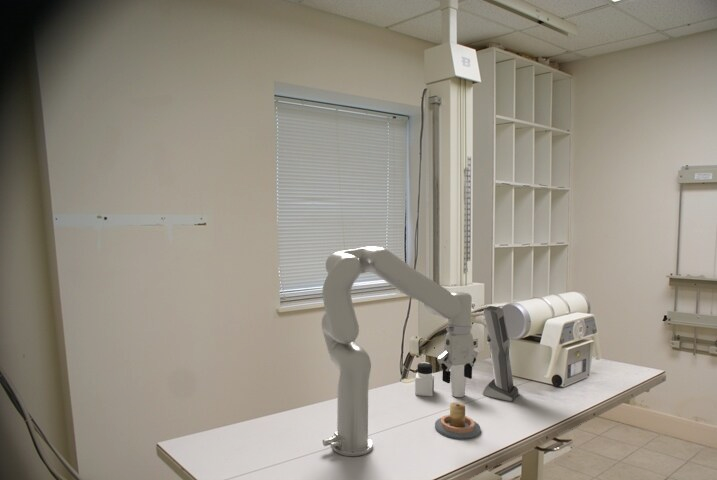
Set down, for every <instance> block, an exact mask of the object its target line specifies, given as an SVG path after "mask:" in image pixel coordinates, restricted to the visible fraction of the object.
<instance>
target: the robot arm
mask: <svg viewBox="0 0 717 480" xmlns="http://www.w3.org/2000/svg"><path fill="white" fill-rule="evenodd" d="M325 270H326V272H327V275H326V278H325V280H324V282H323V286H322V291H321V292H322V301H323V306H324V309H325V312H324V314H323V315H322V317H321V318H322V319H321V330H322V334H323V338H324V341H325V345H326V348H327V351H328V355H329V358H330V360H331V362H332V363H333V364H334V366H335V367H336V368H337V369H338V370H339V375H338V382H337V392H336V394H337V396H336V397H337V410H336V411H337V412H336V413H337V419H336V420H337V421H336V426H337V427H336V428H337V430H336V431H334V432H333V435H332V436H331V437H330V438H329V437H327V438H324V439H322V444H323V446H324V447H327V446H330V448H332V450H333V451H334V452H336V453H337V454H339V455H342V456H345V457H359V456H364V455H366V454H368V453H369V452H371V450H372V449H373V448H374V447H373V446H374V442H373V440H372V439H371V438H370V437H369V384H370V383H369V382H370V375H371V370H372V369H371V368H372V362H371V357H370V355H369V353H368V352H367V351H366V350H365V349H364V348H363V347H362V346H361V345H359V344H358V343H356V340H357V338H358V336H359V332H360V325H359V322H358V321H359V320H358V319H357V315H356V312H355V308H354V305H353V299H352V289H353V286H354V283H355V282H356V281H357V280H358V278H359V277H360V276H361V275H362V274H365V273H373V274H374V275H376V276H377V277H378V278H380V279H381V280H383V281H384V282H386V283H387V284H388V285H390V286H392V287H393V288H395V289H396V290H397V291H398V292H400V293H402V294H403V295H405V296H407V297H409V298H411V299H414V300H417V301H419V302H421V303H423V305H424V308H425V309H426V311H428V312H429V313H431V314H433V315H434V316H435V315H436V316H439V317H441V318H443V319H446V320H447V327H446V328H445V330H446V332H447V333H446V334H445V340H444V343H443V344H444V346H443V353H441V354H439V356H438V357H437V358H436V360H437V362H438V363H437V364H438V366H439V367H440V369H441V370H442V375H441V376H442V377H441V379H442V381H443V382H444V383H446V384H451V372H450V368H451V367H452V365H454V366H457V365H463V364H466V365H464V376H465V377H466V379H470V380H471V379H473V367H474V366H475V363H476V361H477V358H478V355H479V352H478V351H476V350H475V349H474V348H475V345H474V337H473V334H472V332H471V331H472V329H471V328H472V327H471V326H472V303H473V302H472V295H471V294H470V293H468V292H464V291H463V292H462V291H455V292H450V291H449V290H447V289H446V288H445V287H443V286H442V285H440V284H438V283H437V282H435V281H434V280H432V279H430V278H429V277H427V276H426V275H424V274H423V273H421V272H420V271H418V270H416V269H415V268H414V267H412V266H411V265H410V264H408V263H406V262H405V261H404V260H403V259H401V258H400V257H399V256H397V255H396V254H394V253H393V252H392V251H390V250H389V249H387V248H385V247H380V246H374V245H372V246H365V247H359V248H358V247H357V248H354V249H348V250H347V249H346V250H340V251H336V252H334V253H332V254H330V255H329V256H328V258H327V259H326V260H325Z"/></svg>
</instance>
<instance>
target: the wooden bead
mask: <svg viewBox="0 0 717 480" xmlns="http://www.w3.org/2000/svg"><path fill="white" fill-rule="evenodd" d="M449 415H450V426H453V427H465V416H466V405H465V404H464V403H462V402H451V403H450V404H449Z"/></svg>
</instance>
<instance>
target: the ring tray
mask: <svg viewBox="0 0 717 480" xmlns="http://www.w3.org/2000/svg"><path fill="white" fill-rule="evenodd" d="M434 429H435V431H436V432H437V433H439V434H440V435H442V436H444V437H447V438H450V439H454V440H456V439H457V440H470V439H474V438H476V437H478V436H479V435H480V434H481V426H480V424H479V423H478V422H476V421H475V420H473V419H472V418H471V417H469V416H466V415H465V427H453V426H450V414H447V415H444V416H442V417H440V418H437V420H436V421H435V422H434Z"/></svg>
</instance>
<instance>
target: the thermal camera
mask: <svg viewBox="0 0 717 480" xmlns="http://www.w3.org/2000/svg"><path fill="white" fill-rule="evenodd" d="M483 316H484V321H485V323H484V324H485V326H486V332H487V336H486V344H488V345H489V346H490V355H491V363H492V370H493V376H494V378H493V379H492V380H491V381H490V382H489V383H488V384H487V385H486V386H485V387H484V389H483V391H482V395H483V396H485V397H488V398H491V399H497V400H502V401H506V402H512V403H513V402H514V400H515V399H516V398H517V396H518V395H519V389H518V387H517V386H515V385H514V379H513V373H512V365H511V358H510V353H509V351H510V347H511V346H510V344H511V343H510V337H509V333H508V328H507V323H506V318H505V313H504V310H503V309H502V308H501V307H499V306H493V305H489V306H487V307H486V308H483Z"/></svg>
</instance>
